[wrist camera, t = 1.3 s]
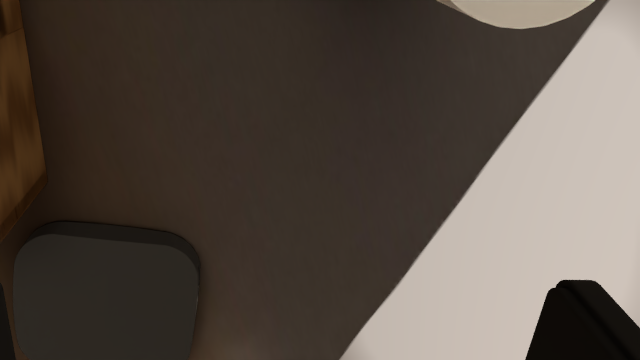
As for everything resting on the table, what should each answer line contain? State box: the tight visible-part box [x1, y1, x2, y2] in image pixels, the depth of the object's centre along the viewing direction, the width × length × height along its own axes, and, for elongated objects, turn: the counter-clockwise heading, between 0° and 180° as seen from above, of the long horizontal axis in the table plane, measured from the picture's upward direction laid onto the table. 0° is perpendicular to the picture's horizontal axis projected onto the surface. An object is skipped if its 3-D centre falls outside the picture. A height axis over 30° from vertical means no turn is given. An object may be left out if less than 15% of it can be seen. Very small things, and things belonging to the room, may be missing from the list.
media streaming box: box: [13, 222, 200, 360], centre depth 48 cm, size 15×15×3 cm
